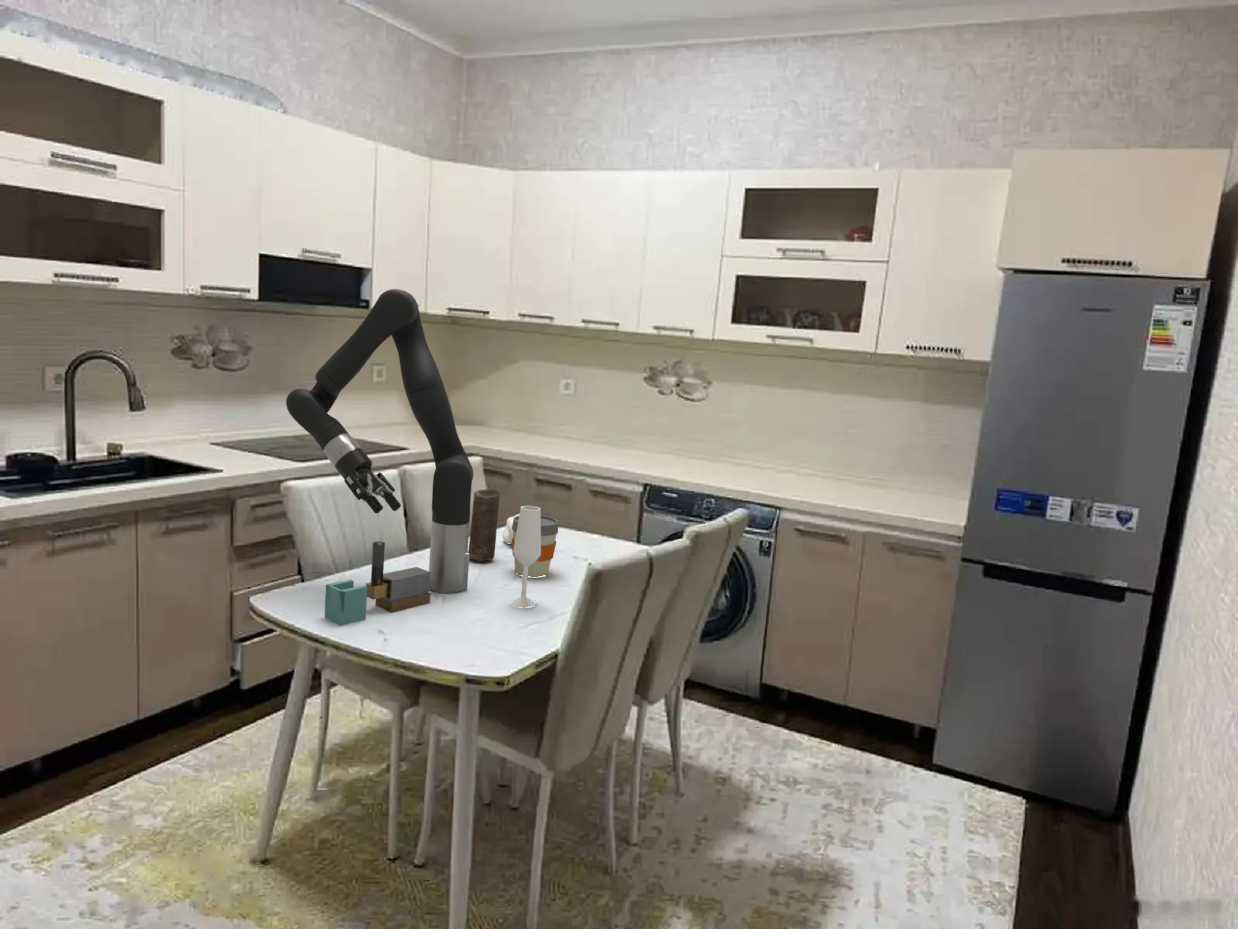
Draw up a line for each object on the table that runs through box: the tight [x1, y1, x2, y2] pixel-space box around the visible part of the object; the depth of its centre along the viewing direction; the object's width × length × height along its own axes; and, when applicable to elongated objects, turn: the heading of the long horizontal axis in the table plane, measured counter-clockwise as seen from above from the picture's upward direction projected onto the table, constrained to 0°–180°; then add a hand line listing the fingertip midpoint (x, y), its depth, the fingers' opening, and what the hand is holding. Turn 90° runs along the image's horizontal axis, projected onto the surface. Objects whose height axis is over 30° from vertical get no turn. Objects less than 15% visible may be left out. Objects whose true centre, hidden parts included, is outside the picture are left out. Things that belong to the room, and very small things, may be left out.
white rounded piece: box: [502, 513, 520, 545], centre depth 260 cm, size 11×12×9 cm
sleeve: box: [375, 566, 432, 614], centre depth 199 cm, size 11×6×8 cm, turn 142°
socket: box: [324, 579, 368, 626], centre depth 187 cm, size 6×6×8 cm
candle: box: [468, 488, 501, 563], centre depth 239 cm, size 8×7×20 cm
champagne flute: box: [509, 505, 542, 608], centre depth 206 cm, size 7×7×24 cm
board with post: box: [365, 540, 390, 601], centre depth 196 cm, size 14×3×12 cm, turn 142°
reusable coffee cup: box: [511, 515, 559, 577], centre depth 232 cm, size 13×13×15 cm
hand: (389, 510), depth 199 cm, fingers open, 8 cm apart
